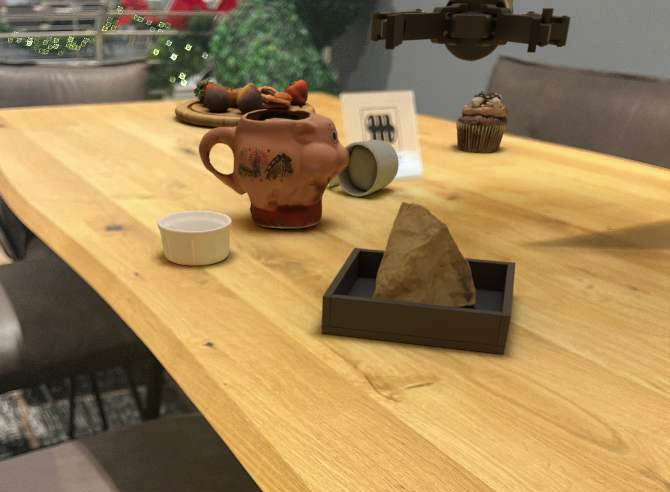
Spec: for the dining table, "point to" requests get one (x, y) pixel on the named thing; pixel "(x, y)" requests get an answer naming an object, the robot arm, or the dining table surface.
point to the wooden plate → (239, 102)
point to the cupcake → (482, 124)
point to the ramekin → (195, 237)
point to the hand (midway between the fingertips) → (460, 34)
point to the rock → (423, 263)
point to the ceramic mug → (367, 168)
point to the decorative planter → (280, 164)
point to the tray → (420, 308)
